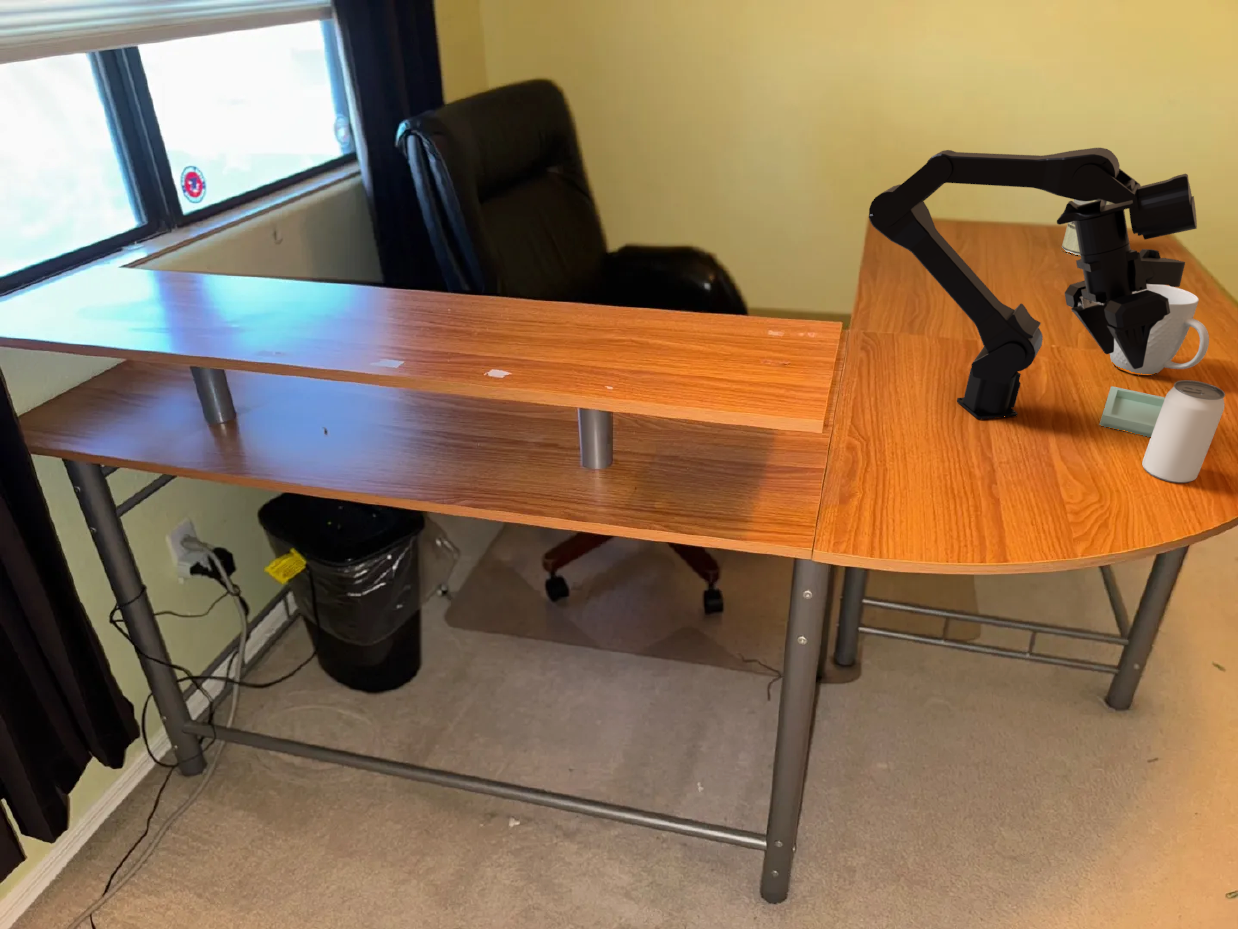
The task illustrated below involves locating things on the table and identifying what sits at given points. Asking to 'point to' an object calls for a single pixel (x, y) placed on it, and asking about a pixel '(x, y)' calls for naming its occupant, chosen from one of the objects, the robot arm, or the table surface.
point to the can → (1184, 431)
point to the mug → (1168, 334)
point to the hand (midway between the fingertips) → (1123, 360)
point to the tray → (1131, 411)
